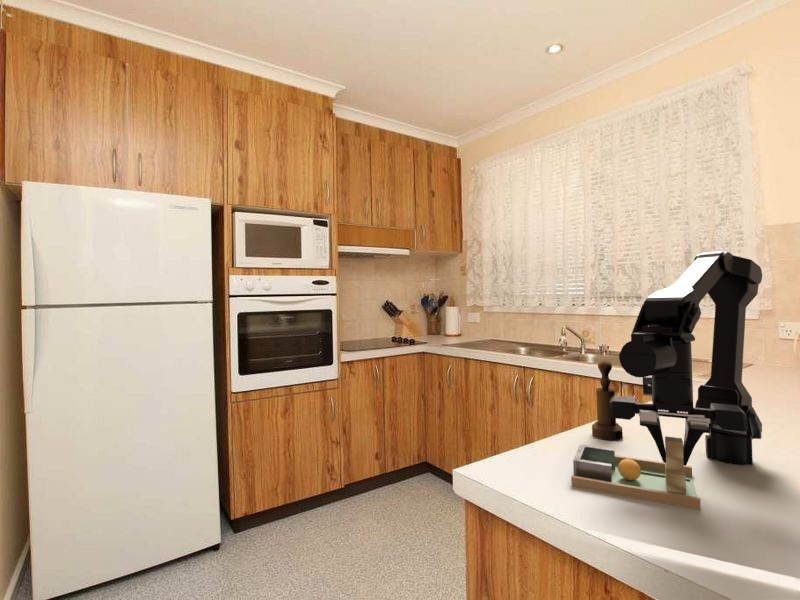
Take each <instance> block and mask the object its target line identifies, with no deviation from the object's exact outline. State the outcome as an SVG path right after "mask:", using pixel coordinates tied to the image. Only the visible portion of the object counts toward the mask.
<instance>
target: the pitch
mask: <svg viewBox="0 0 800 600" xmlns="http://www.w3.org/2000/svg"><path fill="white" fill-rule="evenodd" d="M624 459H631V460H634V461H635V462H636V463H637V464H638V465H639V466H640V469H641V474H640V476H639V478H638V479H636V480H627V479H625V478H623V477H622V476H621V475H620V473H619V471H618V465H619V463H620V462H621V461H622V460H624ZM684 471H685V476H686V494H680V493H674V492H669V491H667V488H666V479H665V463H664V462H663V461H658V460H651V459H645V458H637V457H631V456H623V455H617V454H615V470H614V469H612V482H608V481H602V480H596V479H590V478H585V477H579V476H574V474H573V475H571V487H573V488H574V487H575V488H580V489H585V490H590V491H596V492H602V493H606V494H611V495H612V494H613V495H616V496H617V495H618V496H623V497H629V498H632V499H633V498H634V499H639V500H644V501H650V502H655V503H659V504H665V505H669V506H670V505H671V506H676V507H681V508H686V509H687V508H688V509H692V510H698V511H701V510H702V508H701V507H702V505H701V498H700V497H698V494H697V490H696V486H695V482H694V478H693V467H692V465H688V464H687V465H686V466H685V465H684Z"/></svg>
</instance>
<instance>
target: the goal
mask: <svg viewBox="0 0 800 600" xmlns="http://www.w3.org/2000/svg"><path fill="white" fill-rule="evenodd" d="M615 451H616V448H610V447H601V446H596V445H588V444H581V443H580V444H579V446H578V449H577V451H576V453H575V455H574V458H573V460H572V462H573V463H572V464H573V476H579V477H585V478H590V479H596V480H602V481H608V482H612V469H614V470H615V455H616V452H615Z"/></svg>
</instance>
